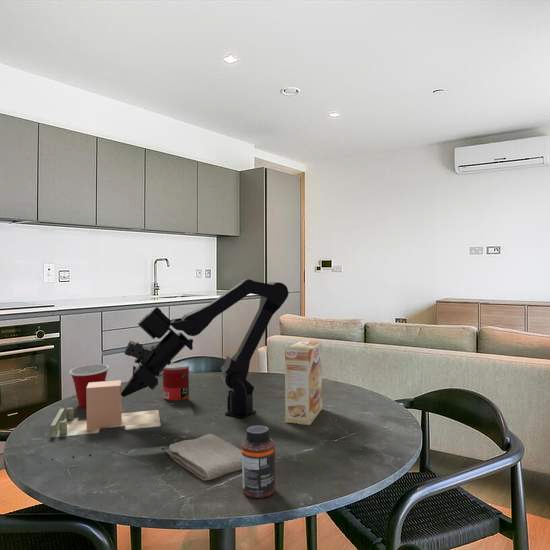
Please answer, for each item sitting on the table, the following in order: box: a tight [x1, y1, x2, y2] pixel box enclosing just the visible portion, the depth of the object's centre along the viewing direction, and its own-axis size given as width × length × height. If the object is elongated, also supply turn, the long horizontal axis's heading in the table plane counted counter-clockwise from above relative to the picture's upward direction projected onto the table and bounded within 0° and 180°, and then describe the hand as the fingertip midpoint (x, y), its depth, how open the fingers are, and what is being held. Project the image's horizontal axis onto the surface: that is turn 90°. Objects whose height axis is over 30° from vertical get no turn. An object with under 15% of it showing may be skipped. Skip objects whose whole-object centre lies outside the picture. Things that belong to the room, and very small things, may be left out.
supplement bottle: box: [241, 425, 276, 499], centre depth 81 cm, size 6×6×11 cm
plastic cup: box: [69, 363, 110, 408], centre depth 132 cm, size 11×11×12 cm
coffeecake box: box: [284, 340, 323, 426], centre depth 123 cm, size 15×7×20 cm, turn 161°
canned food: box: [162, 362, 190, 401], centre depth 139 cm, size 8×8×11 cm
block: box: [85, 379, 123, 428], centre depth 115 cm, size 8×6×10 cm
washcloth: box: [166, 433, 242, 481], centre depth 95 cm, size 12×18×3 cm, turn 40°
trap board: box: [50, 407, 161, 439], centre depth 115 cm, size 25×14×4 cm, turn 107°
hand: (122, 395), depth 116 cm, fingers closed, pressing on block
